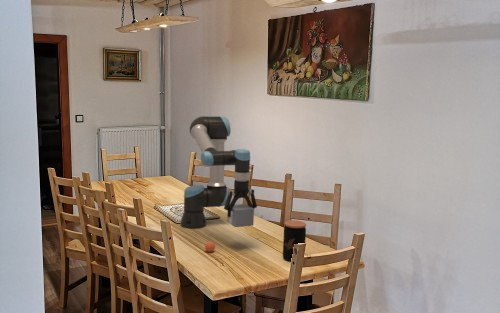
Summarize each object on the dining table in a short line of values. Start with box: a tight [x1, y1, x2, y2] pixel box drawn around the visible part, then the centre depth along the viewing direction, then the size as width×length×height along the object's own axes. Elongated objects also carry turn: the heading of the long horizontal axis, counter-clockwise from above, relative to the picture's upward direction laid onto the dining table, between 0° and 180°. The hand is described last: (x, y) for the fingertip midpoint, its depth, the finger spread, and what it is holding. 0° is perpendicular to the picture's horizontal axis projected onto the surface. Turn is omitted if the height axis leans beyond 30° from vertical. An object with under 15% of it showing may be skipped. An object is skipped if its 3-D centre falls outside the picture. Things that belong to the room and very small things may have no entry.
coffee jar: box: [282, 219, 307, 263], centre depth 232 cm, size 11×11×18 cm
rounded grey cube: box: [226, 203, 255, 228], centre depth 245 cm, size 10×10×9 cm
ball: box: [204, 241, 216, 253], centre depth 239 cm, size 5×5×5 cm
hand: (240, 222), depth 245 cm, fingers closed on rounded grey cube, 10 cm apart
